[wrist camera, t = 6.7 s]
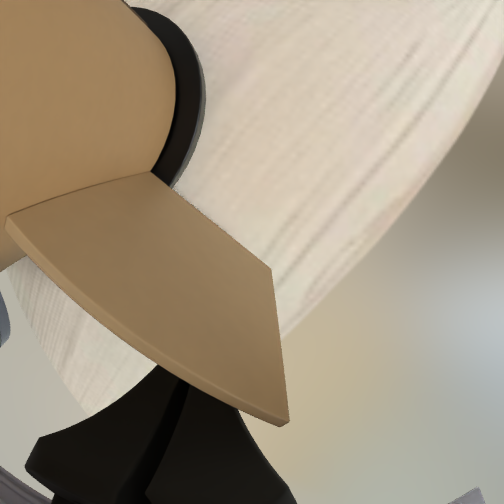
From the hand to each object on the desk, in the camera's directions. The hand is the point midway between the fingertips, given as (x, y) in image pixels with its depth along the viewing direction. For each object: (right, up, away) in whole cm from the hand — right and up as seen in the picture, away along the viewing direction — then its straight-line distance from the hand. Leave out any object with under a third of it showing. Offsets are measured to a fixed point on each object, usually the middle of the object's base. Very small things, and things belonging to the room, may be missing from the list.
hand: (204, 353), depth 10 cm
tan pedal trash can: (-4, +8, 0) cm, 9 cm away
